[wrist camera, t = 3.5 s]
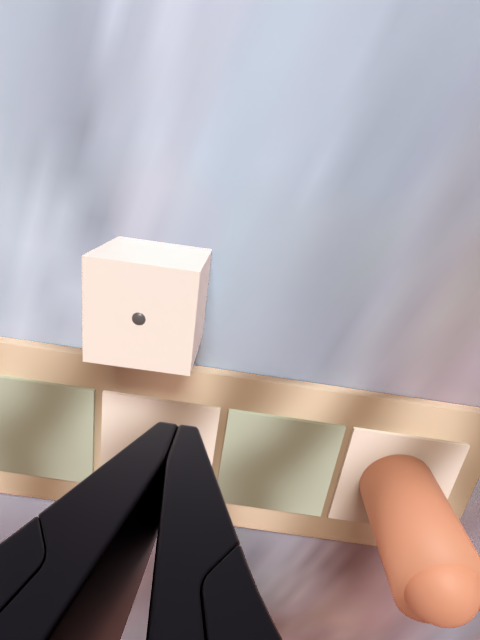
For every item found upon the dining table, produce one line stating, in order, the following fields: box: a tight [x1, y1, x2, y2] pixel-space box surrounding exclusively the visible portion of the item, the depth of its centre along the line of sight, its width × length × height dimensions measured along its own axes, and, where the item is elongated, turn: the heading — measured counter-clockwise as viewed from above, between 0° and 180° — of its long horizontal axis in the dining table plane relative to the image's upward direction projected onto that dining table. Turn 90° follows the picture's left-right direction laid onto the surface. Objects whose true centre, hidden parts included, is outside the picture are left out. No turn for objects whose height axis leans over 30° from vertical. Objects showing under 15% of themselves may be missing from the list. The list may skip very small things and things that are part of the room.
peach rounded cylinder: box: [359, 454, 480, 628], centre depth 17 cm, size 4×4×6 cm
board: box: [0, 337, 480, 546], centre depth 21 cm, size 26×9×1 cm, turn 82°
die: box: [82, 236, 212, 376], centre depth 16 cm, size 4×4×4 cm
